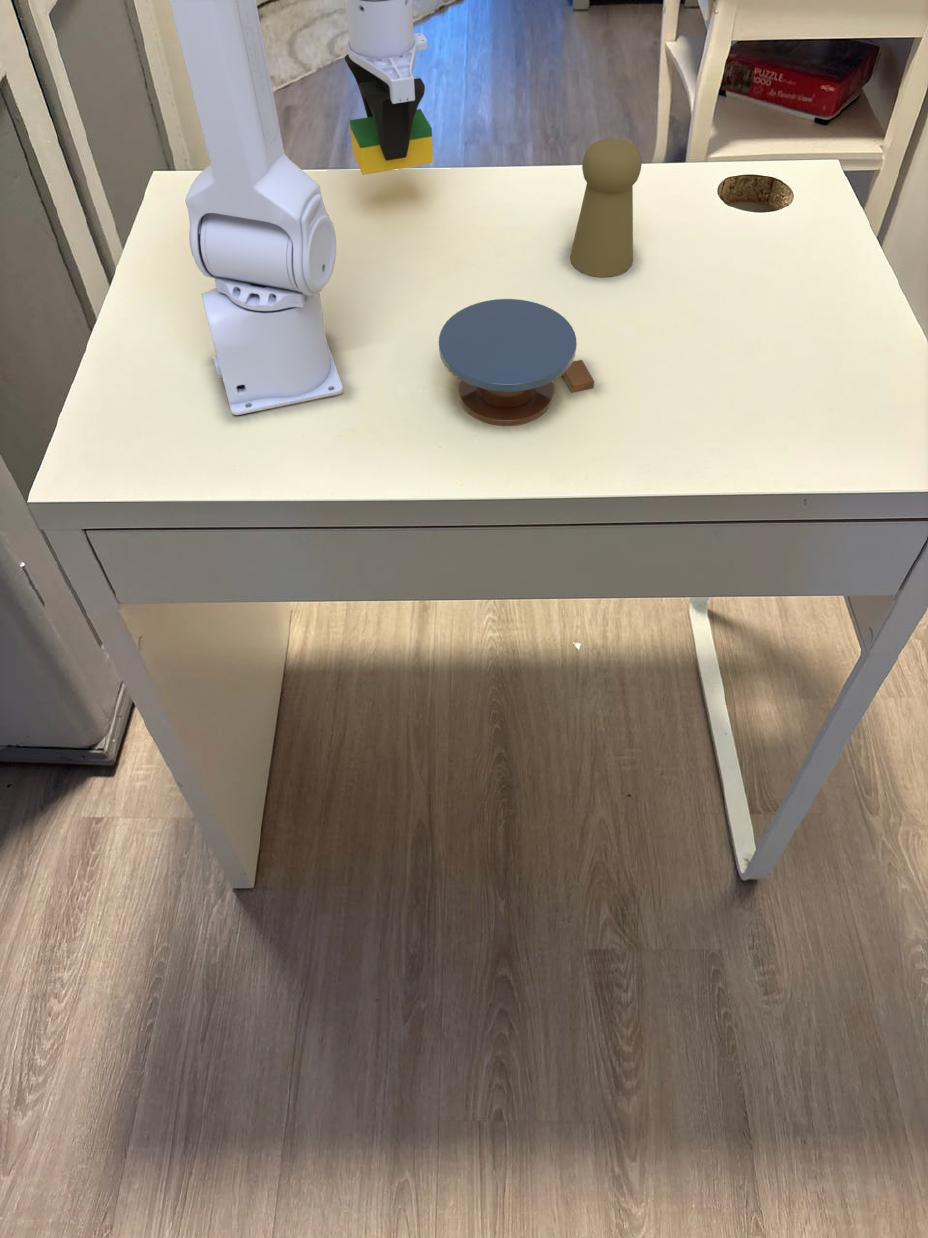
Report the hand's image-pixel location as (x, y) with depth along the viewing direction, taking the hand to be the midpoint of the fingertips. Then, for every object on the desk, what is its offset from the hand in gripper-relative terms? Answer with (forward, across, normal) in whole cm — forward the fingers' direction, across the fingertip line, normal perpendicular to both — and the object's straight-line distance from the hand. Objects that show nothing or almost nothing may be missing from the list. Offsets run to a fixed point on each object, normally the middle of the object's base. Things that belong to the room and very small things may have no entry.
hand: (389, 145), depth 94 cm
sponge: (+1, 0, 0) cm, 1 cm away
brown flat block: (+6, -30, -8) cm, 32 cm away
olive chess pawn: (+7, -14, -17) cm, 23 cm away
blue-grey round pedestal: (+7, -30, -2) cm, 31 cm away
